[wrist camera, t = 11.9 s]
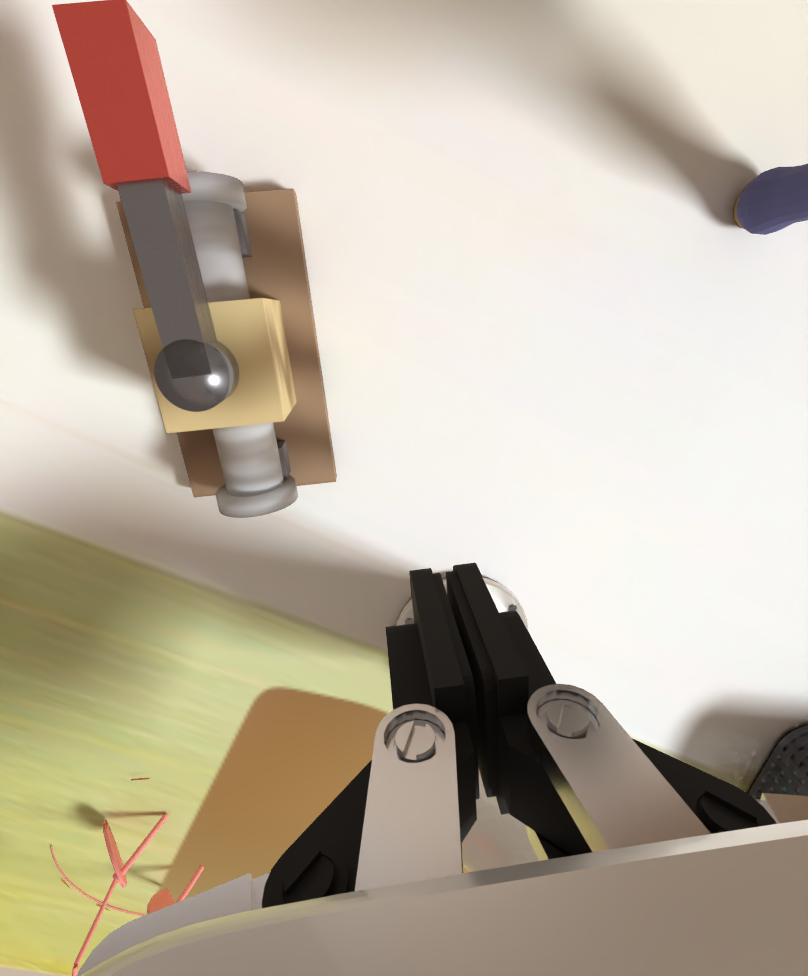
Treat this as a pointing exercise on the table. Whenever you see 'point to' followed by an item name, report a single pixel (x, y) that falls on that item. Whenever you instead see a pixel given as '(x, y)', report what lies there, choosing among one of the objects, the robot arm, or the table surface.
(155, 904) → the figurine
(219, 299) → the valve manifold
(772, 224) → the rubber mallet
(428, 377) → the table surface
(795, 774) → the storage bin
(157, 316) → the lever
